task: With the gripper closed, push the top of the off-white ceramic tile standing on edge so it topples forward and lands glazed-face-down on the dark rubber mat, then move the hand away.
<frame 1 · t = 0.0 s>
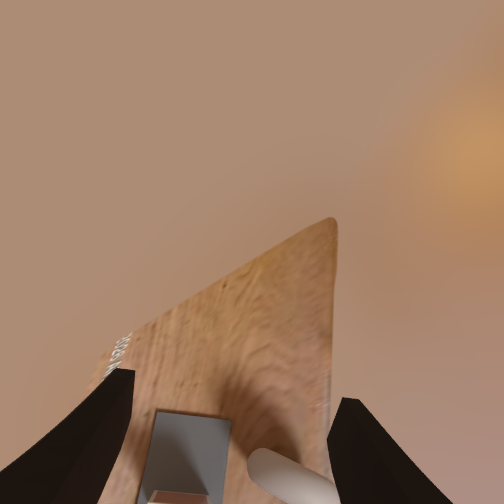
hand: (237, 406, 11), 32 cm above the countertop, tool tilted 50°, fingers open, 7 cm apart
mat: (184, 481, 36), on the countertop
tile: (180, 501, 35), resting on mat
donut: (279, 474, 38), on the countertop
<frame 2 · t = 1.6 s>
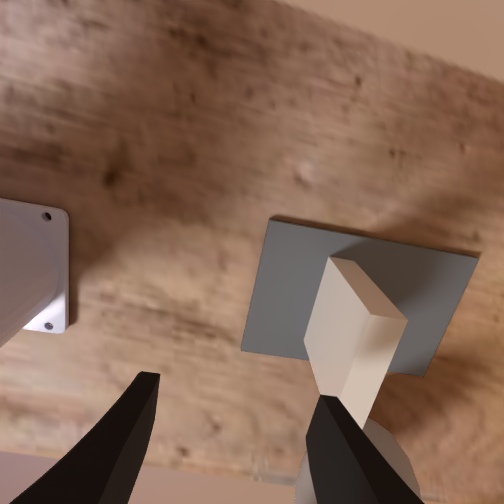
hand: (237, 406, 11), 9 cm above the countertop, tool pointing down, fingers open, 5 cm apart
mat: (352, 303, 21), on the countertop
tile: (327, 302, 20), resting on mat
donut: (327, 429, 25), on the countertop
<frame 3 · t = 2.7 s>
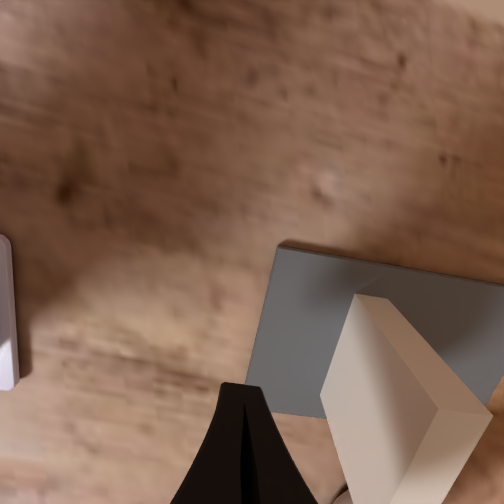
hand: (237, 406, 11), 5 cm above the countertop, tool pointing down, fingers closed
mat: (382, 349, 16), on the countertop
tile: (351, 349, 16), resting on mat
donut: (346, 493, 20), on the countertop
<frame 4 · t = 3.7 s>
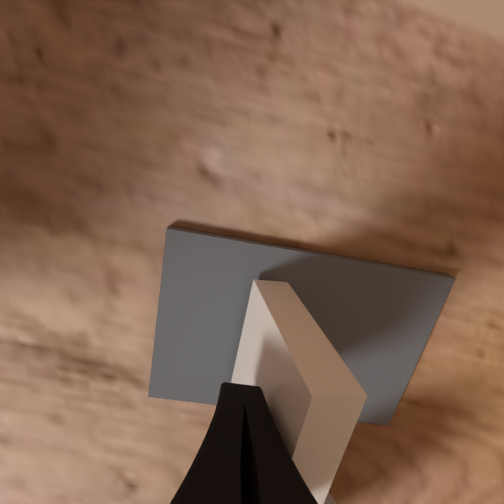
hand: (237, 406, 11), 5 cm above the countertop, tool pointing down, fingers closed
mat: (292, 336, 16), on the countertop
tile: (257, 337, 15), point 1 cm above the countertop, tilted 11°, touching mat
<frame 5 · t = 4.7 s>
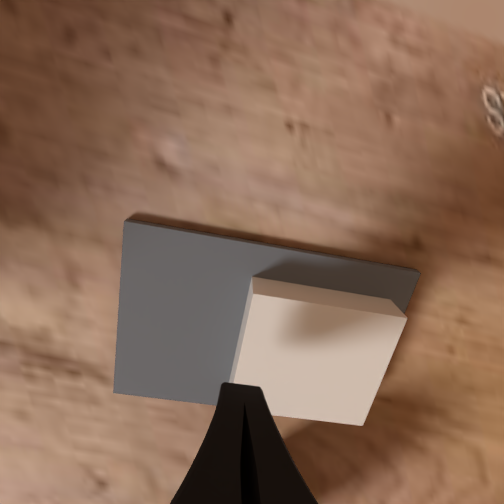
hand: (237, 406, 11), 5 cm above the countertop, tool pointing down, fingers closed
mat: (258, 331, 15), on the countertop
tile: (239, 344, 14), point 1 cm above the countertop, tilted 90°, touching mat
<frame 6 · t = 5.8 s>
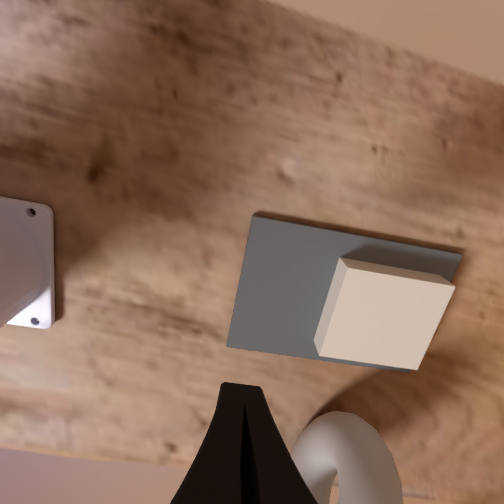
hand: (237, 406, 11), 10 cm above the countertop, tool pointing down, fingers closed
mat: (337, 299, 21), on the countertop
tile: (329, 307, 19), point 1 cm above the countertop, tilted 90°, touching mat
donut: (315, 425, 25), on the countertop
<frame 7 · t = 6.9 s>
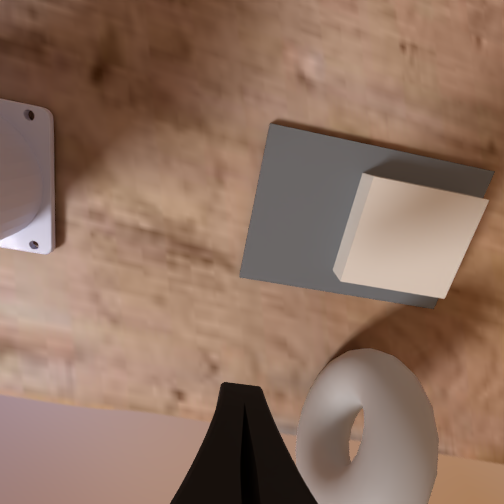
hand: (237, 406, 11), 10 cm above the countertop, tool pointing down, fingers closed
mat: (359, 225, 19), on the countertop
tile: (351, 227, 18), point 1 cm above the countertop, tilted 90°, touching mat
donut: (331, 371, 23), on the countertop
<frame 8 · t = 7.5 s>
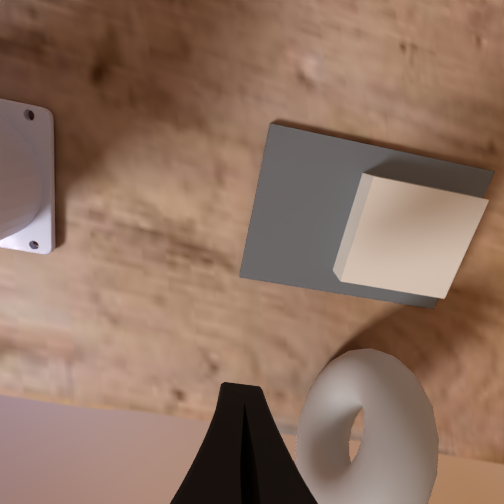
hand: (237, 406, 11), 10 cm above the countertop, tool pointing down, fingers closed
mat: (359, 225, 19), on the countertop
tile: (351, 227, 18), point 1 cm above the countertop, tilted 90°, touching mat
donut: (331, 371, 23), on the countertop
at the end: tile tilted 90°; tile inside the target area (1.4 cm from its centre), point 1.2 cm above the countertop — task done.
